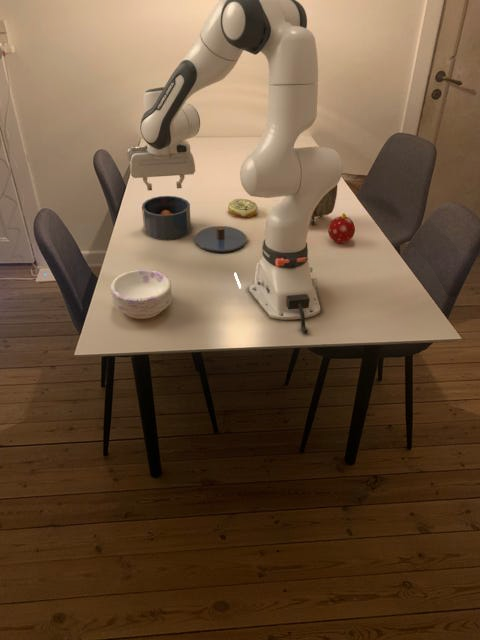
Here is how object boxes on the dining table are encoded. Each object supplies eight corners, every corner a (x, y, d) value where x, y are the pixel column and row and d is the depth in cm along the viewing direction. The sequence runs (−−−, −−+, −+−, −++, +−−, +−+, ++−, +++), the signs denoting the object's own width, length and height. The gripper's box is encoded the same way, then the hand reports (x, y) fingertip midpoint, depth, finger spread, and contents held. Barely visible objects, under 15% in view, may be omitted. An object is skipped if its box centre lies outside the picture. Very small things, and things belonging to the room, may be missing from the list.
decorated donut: (246, 221, 171) (246, 211, 169) (222, 213, 176) (222, 204, 173) (262, 211, 178) (263, 202, 175) (238, 204, 183) (238, 194, 180)
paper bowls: (174, 292, 135) (172, 268, 130) (170, 326, 123) (167, 300, 118) (119, 292, 134) (115, 267, 129) (109, 326, 122) (104, 300, 117)
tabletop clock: (323, 214, 177) (333, 145, 162) (334, 225, 170) (345, 154, 155) (286, 219, 173) (292, 149, 158) (296, 230, 166) (304, 158, 151)
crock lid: (251, 251, 154) (251, 237, 152) (199, 255, 151) (198, 242, 148) (240, 227, 167) (240, 214, 165) (191, 231, 164) (191, 218, 161)
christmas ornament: (333, 249, 157) (337, 220, 151) (322, 236, 163) (326, 209, 157) (357, 246, 159) (362, 217, 153) (345, 234, 165) (350, 206, 159)
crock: (194, 237, 161) (193, 213, 156) (145, 241, 158) (143, 217, 153) (187, 217, 173) (186, 194, 168) (142, 220, 170) (140, 197, 165)
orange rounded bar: (176, 234, 161) (175, 223, 159) (162, 235, 160) (161, 224, 158) (172, 219, 170) (172, 209, 167) (159, 220, 169) (158, 210, 167)
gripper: (126, 150, 144) (132, 194, 152) (195, 146, 147) (196, 190, 156) (126, 143, 149) (131, 187, 157) (192, 140, 152) (194, 183, 161)
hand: (164, 188), depth 156 cm, fingers open, 8 cm apart
